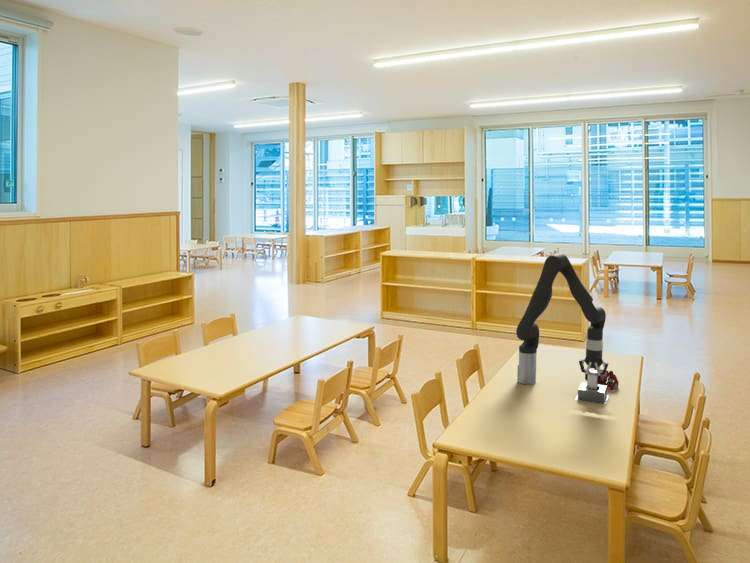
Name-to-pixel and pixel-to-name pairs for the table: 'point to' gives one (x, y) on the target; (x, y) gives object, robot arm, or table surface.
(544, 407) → the table surface
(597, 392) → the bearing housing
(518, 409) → the table surface
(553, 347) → the table surface
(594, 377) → the brushed square peg
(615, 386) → the toy fire truck
